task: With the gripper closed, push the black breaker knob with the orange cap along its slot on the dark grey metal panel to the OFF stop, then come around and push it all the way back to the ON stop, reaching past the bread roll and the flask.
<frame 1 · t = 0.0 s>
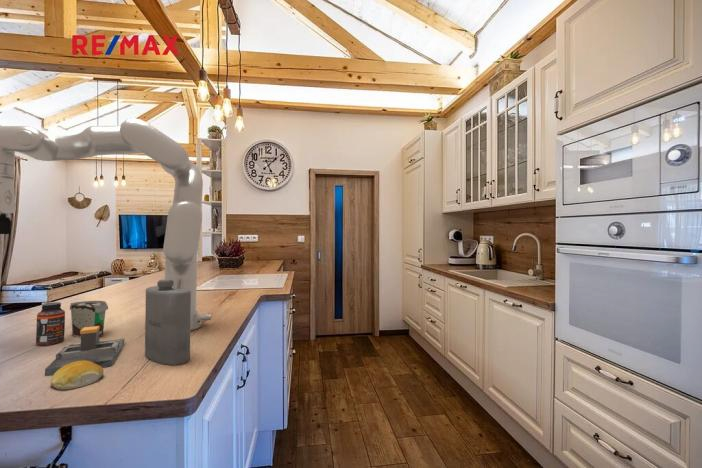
food container: (93, 335, 99), on the counter
bread roll: (78, 382, 68), on the counter
supplement bottle: (50, 343, 91), on the counter
lever: (89, 339, 80), point 5 cm above the counter, slide at 0.0 cm
flask: (165, 358, 80), on the counter
panel: (89, 357, 80), on the counter
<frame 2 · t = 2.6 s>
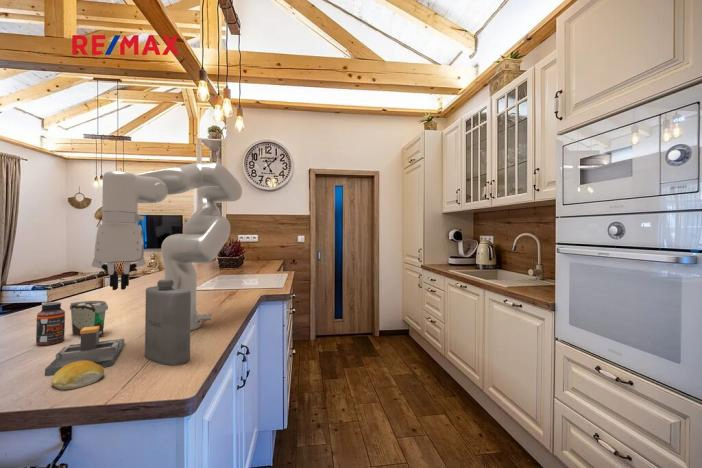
hand: (119, 288, 83), 17 cm above the counter, tool pointing down, fingers closed
nothing on the counter moved.
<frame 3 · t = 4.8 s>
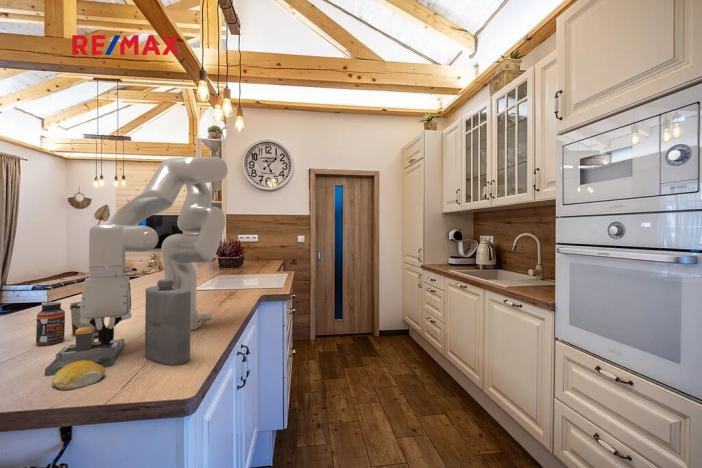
hand: (106, 343, 82), 3 cm above the counter, tool pointing down, fingers closed
lever: (85, 340, 80), point 5 cm above the counter, slide at 1.0 cm, touching gripper
everything else where it was.
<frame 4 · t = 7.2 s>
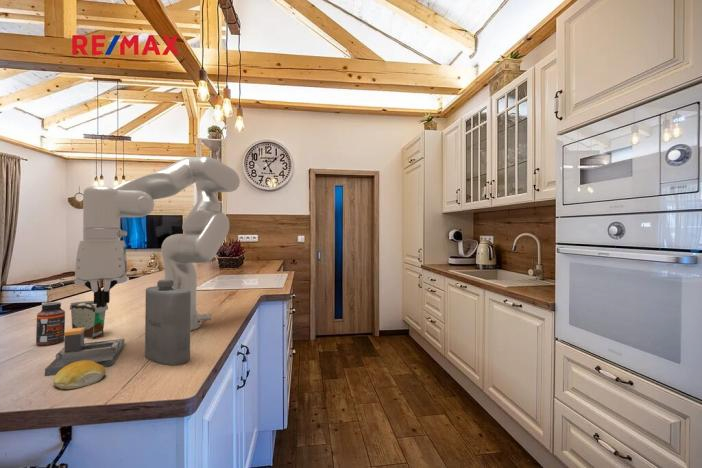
hand: (101, 306, 81), 13 cm above the counter, tool pointing down, fingers closed
lever: (74, 341, 79), point 5 cm above the counter, slide at 3.0 cm
everything else where it was.
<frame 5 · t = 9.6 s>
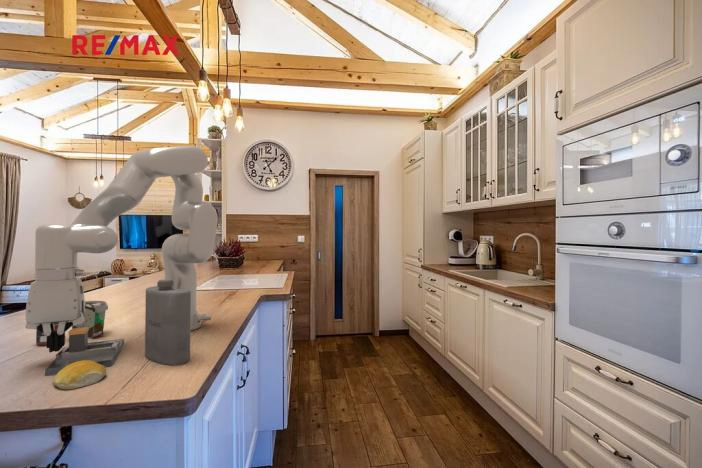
hand: (55, 349, 77), 3 cm above the counter, tool pointing down, fingers closed
lever: (78, 341, 79), point 5 cm above the counter, slide at 2.2 cm, touching gripper
everything else where it was.
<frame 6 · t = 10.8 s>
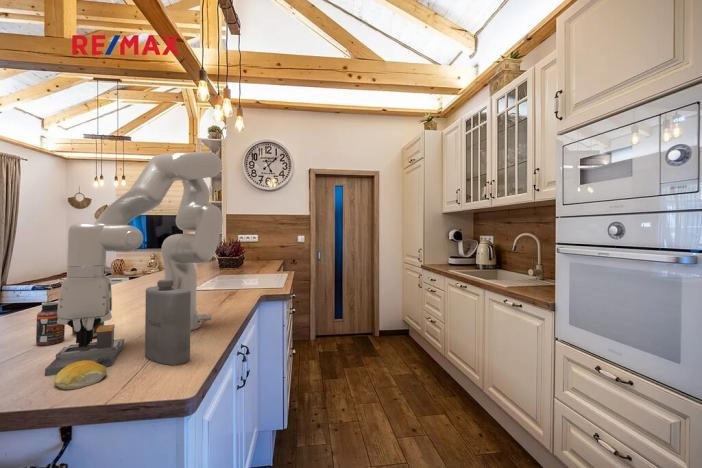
hand: (84, 345, 79), 3 cm above the counter, tool pointing down, fingers closed
lever: (105, 337, 82), point 5 cm above the counter, slide at -3.2 cm, touching gripper, panel
everything else where it was.
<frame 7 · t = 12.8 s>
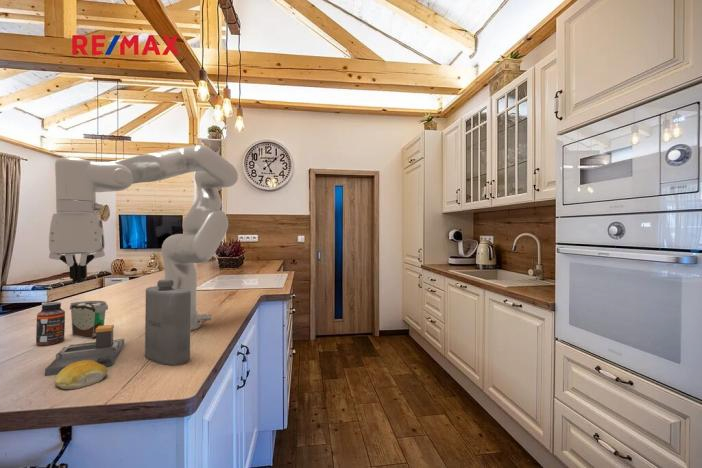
hand: (78, 281, 79), 20 cm above the counter, tool pointing down, fingers closed
lever: (104, 338, 82), point 5 cm above the counter, slide at -3.0 cm
everything else where it was.
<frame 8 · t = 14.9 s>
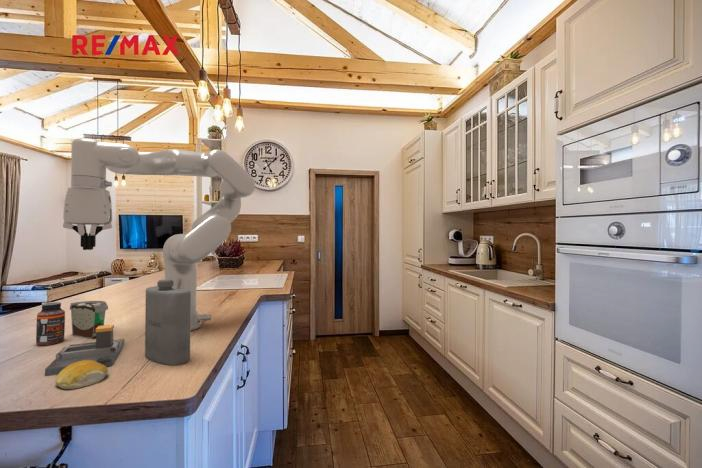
hand: (88, 249, 89), 27 cm above the counter, tool pointing down, fingers closed
nothing on the counter moved.
at the end: lever slide at -3.0 cm; lever touching nothing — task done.
